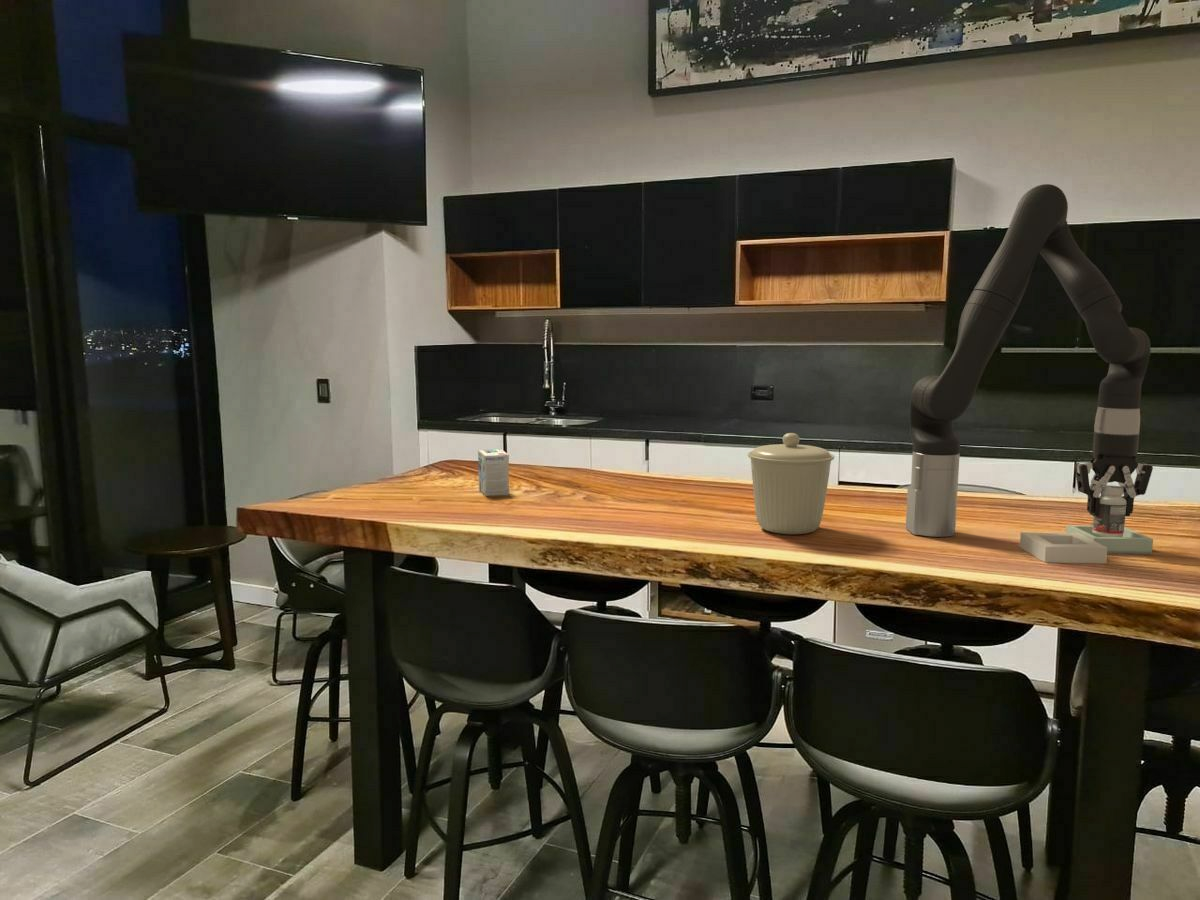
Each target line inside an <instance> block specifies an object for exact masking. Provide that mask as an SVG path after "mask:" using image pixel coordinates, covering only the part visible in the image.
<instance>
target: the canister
mask: <svg viewBox="0 0 1200 900" xmlns="http://www.w3.org/2000/svg"><path fill="white" fill-rule="evenodd" d="M799 443H800V436H799V435H798V434H797V433H794V432H788V433H785V434H784V435H783V436H782V443H781V444H780V443H779V444H765V445H760V446H757V447H755V448H754V449H753V450H751V451H749V452H747V457H748V458H749V459H750V466H751V467H750V468H751V478H752V479H751V480H752V490H753V499H754V500H753V501H754V511H755V517H756V522H757V524H758V525H759V526H760V528H761V529H763V530H764V531H767V532H770V533H774V534H783V535H803V534H805V535H806V534H810V533H812V532H815V531H816V530H818V528H819V527H820V525H821V524H822V523H821V522H822V521H823V515H824V514H823V513H824V510H825V504H826V498H827V491H828V484H829V479H830V478H829V477H830V471H831V465H832V464H831V463H832V461H833V460H835V455H834V454H832V453H830V452H829V450H827V449H825V448H822V447H819V446H814V445H807V444H799Z"/></svg>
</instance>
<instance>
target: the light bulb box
mask: <svg viewBox="0 0 1200 900" xmlns="http://www.w3.org/2000/svg"><path fill="white" fill-rule="evenodd" d="M477 457H478V459H477V460H478V461H477V462H478V489H479V491H480V492H481V493H482V494H483V495H484V496H485V497H487V496H488V497H489V496H491V497H492V496H509V495H510V467H509V466H510V464H509V463H510V460H509V458H510V455H509V453H507V452H506V451H505V450H503V449H501V448H499V449H482V450H481V449H479V450H477Z"/></svg>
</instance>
